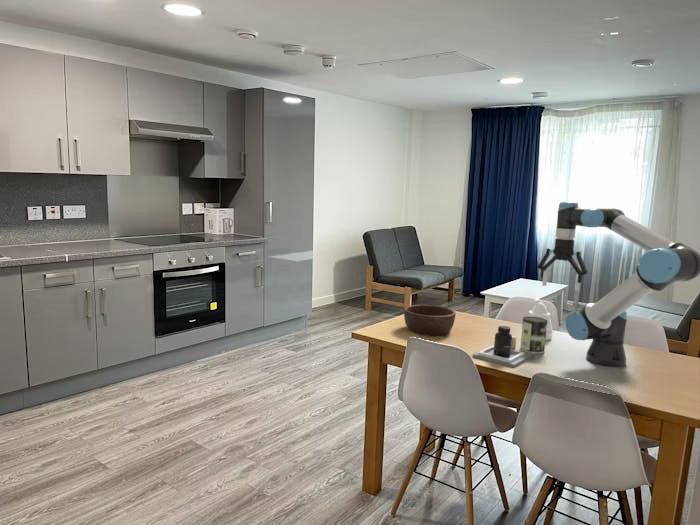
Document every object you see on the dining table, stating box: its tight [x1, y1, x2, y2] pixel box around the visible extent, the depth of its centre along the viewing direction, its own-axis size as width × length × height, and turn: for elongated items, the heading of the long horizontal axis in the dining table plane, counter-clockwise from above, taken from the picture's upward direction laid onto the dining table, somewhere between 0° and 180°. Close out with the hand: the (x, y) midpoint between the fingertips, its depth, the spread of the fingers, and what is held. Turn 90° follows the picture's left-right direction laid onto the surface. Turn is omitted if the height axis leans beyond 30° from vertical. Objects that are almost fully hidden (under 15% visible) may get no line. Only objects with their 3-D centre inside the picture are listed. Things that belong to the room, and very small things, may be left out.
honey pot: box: [528, 298, 553, 341], centre depth 256 cm, size 13×13×18 cm
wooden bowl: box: [403, 304, 457, 337], centre depth 259 cm, size 25×25×10 cm
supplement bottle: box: [493, 325, 513, 357], centre depth 220 cm, size 7×7×12 cm
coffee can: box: [519, 316, 548, 355], centre depth 233 cm, size 10×10×14 cm
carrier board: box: [472, 335, 535, 368], centre depth 222 cm, size 18×20×7 cm
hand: (560, 287), depth 228 cm, fingers open, 13 cm apart
